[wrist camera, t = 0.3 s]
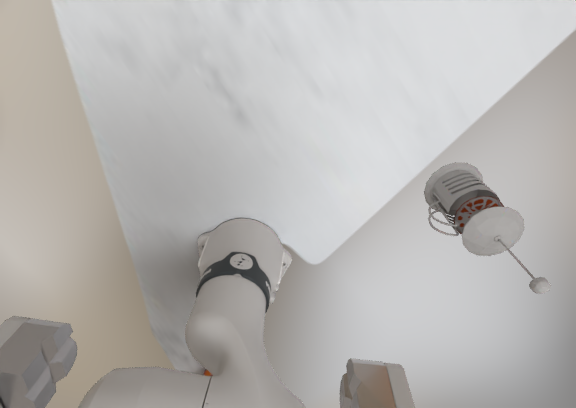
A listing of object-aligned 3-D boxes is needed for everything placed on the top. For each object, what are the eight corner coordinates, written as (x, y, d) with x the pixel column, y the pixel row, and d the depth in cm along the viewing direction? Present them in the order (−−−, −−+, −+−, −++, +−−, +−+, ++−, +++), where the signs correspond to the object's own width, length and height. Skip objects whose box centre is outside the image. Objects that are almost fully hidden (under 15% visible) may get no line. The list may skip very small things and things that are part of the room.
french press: (480, 209, 59) (583, 318, 37) (413, 217, 61) (475, 327, 39) (486, 158, 55) (607, 249, 33) (413, 168, 56) (484, 262, 34)
